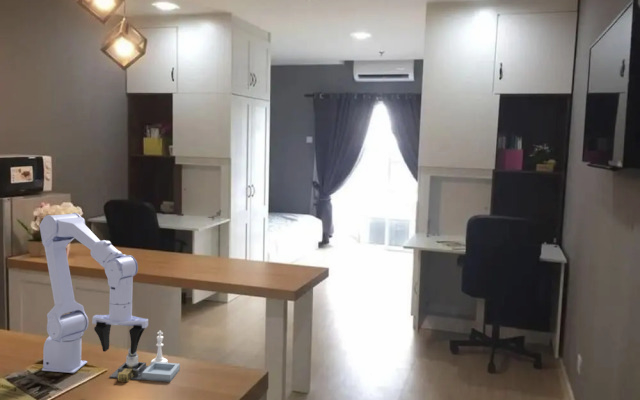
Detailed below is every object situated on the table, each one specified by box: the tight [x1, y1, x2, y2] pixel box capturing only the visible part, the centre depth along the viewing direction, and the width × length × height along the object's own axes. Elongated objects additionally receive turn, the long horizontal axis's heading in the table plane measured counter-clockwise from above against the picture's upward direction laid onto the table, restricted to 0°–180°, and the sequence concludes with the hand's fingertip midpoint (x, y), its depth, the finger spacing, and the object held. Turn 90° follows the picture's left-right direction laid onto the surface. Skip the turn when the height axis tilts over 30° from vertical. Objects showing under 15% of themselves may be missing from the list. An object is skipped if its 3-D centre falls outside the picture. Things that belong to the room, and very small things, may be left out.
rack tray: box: [141, 362, 181, 383], centre depth 155 cm, size 8×8×2 cm
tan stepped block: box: [117, 368, 133, 383], centre depth 152 cm, size 3×4×2 cm
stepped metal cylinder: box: [125, 347, 139, 370], centre depth 155 cm, size 3×3×7 cm
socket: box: [109, 361, 149, 381], centre depth 156 cm, size 9×9×2 cm
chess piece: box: [150, 330, 169, 364], centre depth 163 cm, size 5×5×10 cm
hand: (119, 351), depth 146 cm, fingers open, 7 cm apart
